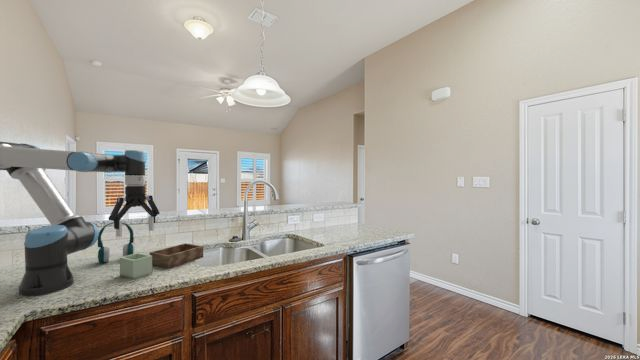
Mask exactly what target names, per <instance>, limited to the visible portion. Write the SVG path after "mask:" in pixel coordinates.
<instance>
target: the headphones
mask: <svg viewBox="0 0 640 360" xmlns="http://www.w3.org/2000/svg"><path fill="white" fill-rule="evenodd" d="M112 224H113V225H114V221H112V222H110V223H107V224H106V225H104V226H103V227H101V229H100V230H99V236H98V240H97V242H96V243H97V247H98V248H99V249H98V251H97V259H98V262H99V263H102V264H104V263H107V262H109V261H110V258H111V257H110V256H111V255H110V247H109V246H104V245H103V240H102V239H103V238H102V237H103V236H102V235H103V233H104V231H105V229H106V227H107V226H109V225H112ZM122 225H124V226H125V227H126V228H127V229H128V233H129V241H128V243H125V244H123V246H122V257H123V256H128V255H132V254H135V253H134V252H135V250H134V249H135V247H134V245H133V244H134V240H135V237H134V231H133V227H131V226H130V225H129V224H128V223H125V222H123V221H122Z"/></svg>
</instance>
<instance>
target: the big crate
mask: <svg viewBox="0 0 640 360" xmlns="http://www.w3.org/2000/svg"><path fill="white" fill-rule="evenodd" d="M149 255H151V256H152V266H155V267H159V268H162V269H167V270H169V269H173V268H175V267H178V266H181V265H183V264H187V263H191V262H193V261H196V260H199V259H202V258H204V246H203V245H197V244H192V243H181V244H178V245H174V246H170V247H165V248H162V249H157V250H155V251H150V252H149Z"/></svg>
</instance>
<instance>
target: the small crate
mask: <svg viewBox="0 0 640 360" xmlns="http://www.w3.org/2000/svg"><path fill="white" fill-rule="evenodd" d="M151 274H153V265H152V256H151V255H150V254H146V253H141V252H136V253H133V254H132V255H128V256H123V255H122V256H120V257H119V276H121V277H124V278H127V279H131V280H135V279H138V278H142V277H146V276H149V275H151ZM145 275H146V276H145Z"/></svg>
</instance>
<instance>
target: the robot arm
mask: <svg viewBox="0 0 640 360" xmlns="http://www.w3.org/2000/svg"><path fill="white" fill-rule="evenodd" d="M146 160H147V159H146V153H145V152H144V151H143V150H135V149H133V150H132V149H126V150H125V151H124V154H107V153H106V154H104V153H95V152H88V151H74V150H73V151H71V150H70V151H69V150H60V149H59V150H57V149H45V148H41V147H39V146H36V145H32V144H28V143H16V142H7V141H0V171H6V172H7V174H8V175H9V176H10V177H11V179H13V180H18V181H19V182H20V183H21V184H22V186H23V188H24V189H25V190H26V192H27V193H28V195H29V197H31V198H32V200H33V201H34V203H35V204H36V205H37V207H38V208H39V210H40V211H41V212H42V214H43V215H44V217H45V218H46V220H47V221H48V222H49V223H50V225H49V226H42V227H38V228H35V229H32V230H30V231H28V232H27V233H26V234H25V236H24V242H23V244H24V245H23V246H24V267H25V268H24V269H25V270H24V274H23V277H22V279H21V282H20V284H19V286H18V295H20V296H23V297H24V296H25V297H30V296H39V295H46V294H50V293H54V292H58V291H60V290H64V289H66V288H68V287H70V286H72V285H73V284H74V275H73V273H72V271H71V269H70V266H69V264H68V255H71V254H74V253H77V252H80V251H84V250H87V249H88V248H91V247H92V246H94V245H95V244H96V243H97V242H98V236H99V232H100V230H99V228H98V226H97V225H96V224H95V223H93V222H90V221H86V220H85V219H84V218H83V216H82V215H77V214H76V213H75V212H74V211H73V209H72V208H71V206H70V205H69V203H68V202H67V201H66V199H65V198H64V197H63V195H62V193H61V192H60V191H59V190H58V188H57V186H56V185H55V183H53V181H52V179H51V178H50V176H49V175H48V174H47V172H46V170H61V171H74V172H81V173H88V172H89V173H93V172H94V173H96V172H97V173H124V185H125V187H124V194H125V197H120V196H119V197H116V203H115V204H114V207H113V209H112V211H111V212H110V215H109V217H108V220H109V221H112V222H114V223H113V228H114V230H115V231H116V235H115V237H119V238H122V237H123V224H122V222H123V221H122V219H123V218H124V215H125V214H126V213H128V211H129V210H130V209H131V208H132V207H133V208H135V207H142V209H143V210H144V211H146V213H148V231H150V232H151V231H152V232H153V231H155V224H156V217H157V216H158V215H160V211H159V209H158V207H157V205H156V203H155V201H154V198H153V195H152V194H151V195H149V194H148V195H146V189H147V188H146V186H145V185H146ZM124 203H125V204H124ZM147 203H148V204H147ZM123 204H124V205H123ZM148 205H149V206H148Z"/></svg>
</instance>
